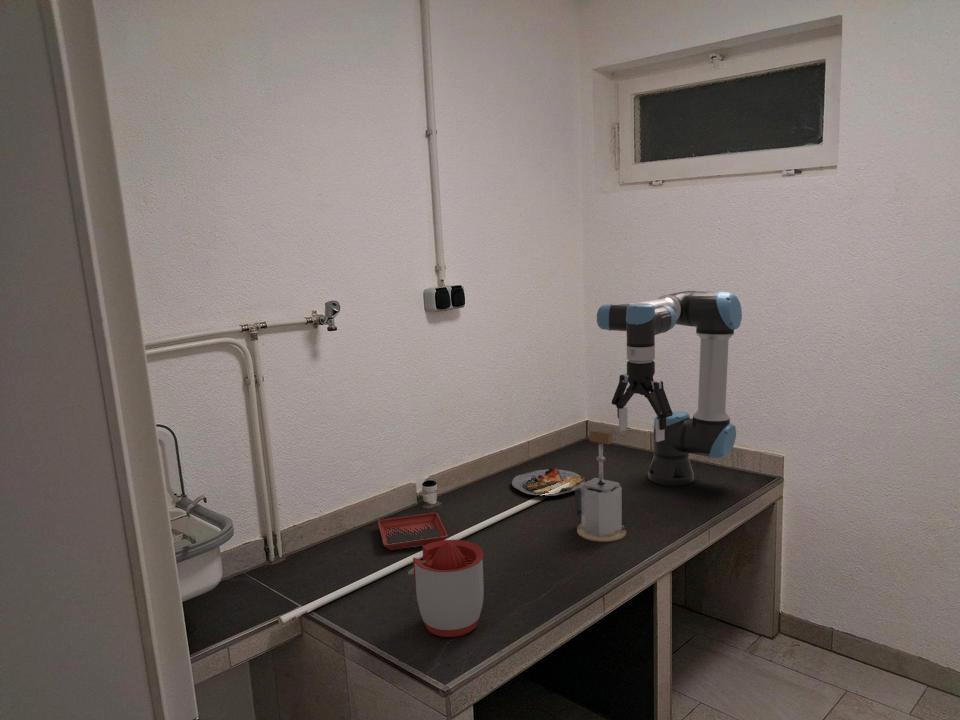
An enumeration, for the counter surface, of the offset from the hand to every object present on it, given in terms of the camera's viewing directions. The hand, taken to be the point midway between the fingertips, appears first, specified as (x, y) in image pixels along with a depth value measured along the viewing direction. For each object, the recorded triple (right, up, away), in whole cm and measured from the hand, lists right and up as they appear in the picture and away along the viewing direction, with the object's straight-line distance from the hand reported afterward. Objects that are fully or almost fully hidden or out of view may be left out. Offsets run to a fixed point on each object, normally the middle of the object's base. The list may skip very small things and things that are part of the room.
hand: (641, 435), depth 203 cm
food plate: (-21, -23, +45) cm, 55 cm away
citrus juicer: (-52, -39, -38) cm, 76 cm away
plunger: (-10, -18, +5) cm, 21 cm away
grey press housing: (-10, -29, +7) cm, 31 cm away
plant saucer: (-65, -31, +9) cm, 72 cm away
